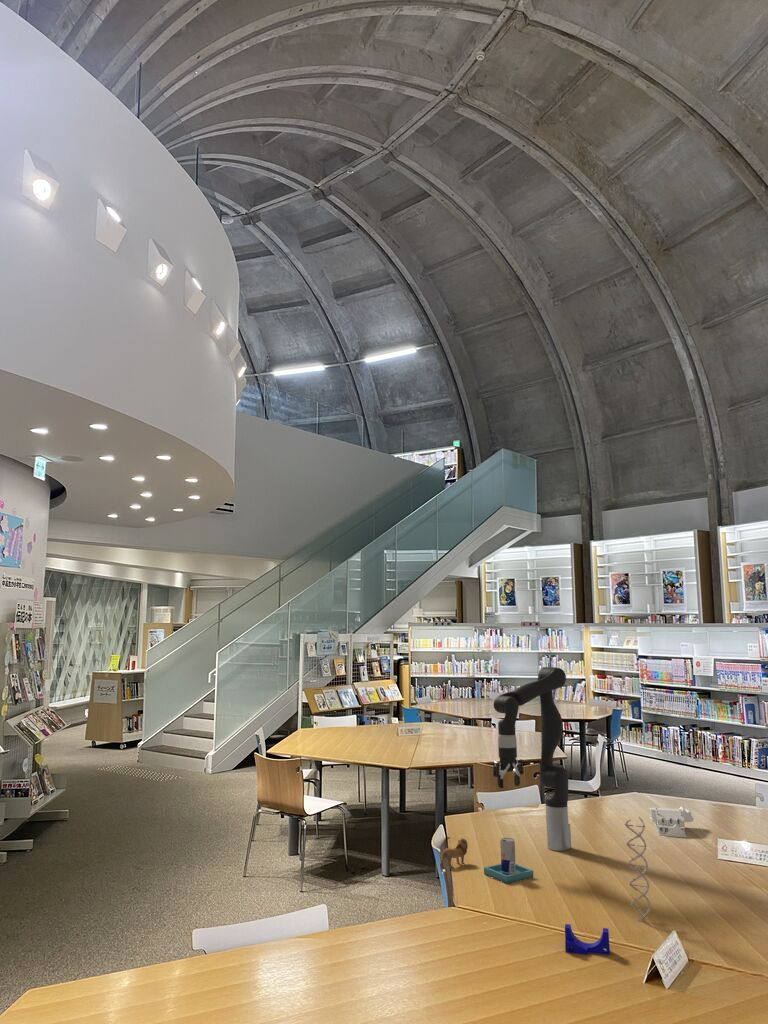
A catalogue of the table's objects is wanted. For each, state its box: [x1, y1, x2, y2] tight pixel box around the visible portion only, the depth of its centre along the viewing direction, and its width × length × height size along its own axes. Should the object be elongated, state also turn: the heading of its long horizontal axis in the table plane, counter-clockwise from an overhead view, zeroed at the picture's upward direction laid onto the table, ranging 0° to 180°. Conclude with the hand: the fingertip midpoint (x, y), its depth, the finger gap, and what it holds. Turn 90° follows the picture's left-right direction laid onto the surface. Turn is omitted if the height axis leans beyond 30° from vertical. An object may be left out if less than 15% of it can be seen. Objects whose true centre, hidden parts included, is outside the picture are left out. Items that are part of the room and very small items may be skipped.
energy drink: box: [499, 837, 517, 875], centre depth 267 cm, size 5×5×12 cm
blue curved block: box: [564, 923, 611, 956], centre depth 201 cm, size 12×4×6 cm, turn 73°
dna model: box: [624, 816, 652, 921], centre depth 227 cm, size 7×6×30 cm
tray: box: [483, 863, 534, 885], centre depth 265 cm, size 13×13×2 cm
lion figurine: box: [440, 837, 469, 869], centre depth 279 cm, size 15×5×9 cm, turn 132°
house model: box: [649, 806, 694, 838], centre depth 326 cm, size 19×20×10 cm
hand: (509, 786), depth 289 cm, fingers open, 8 cm apart
